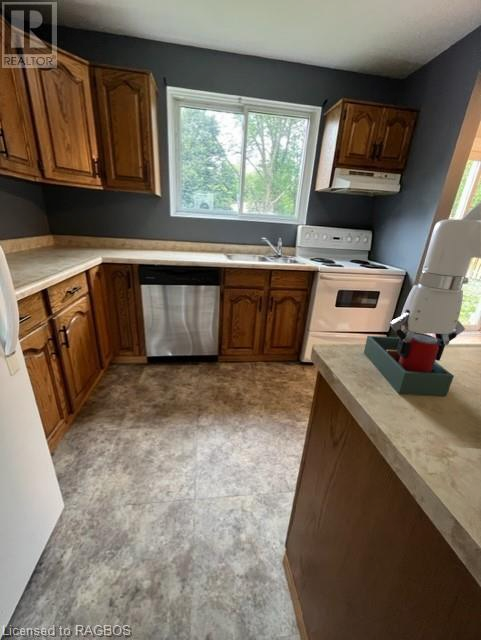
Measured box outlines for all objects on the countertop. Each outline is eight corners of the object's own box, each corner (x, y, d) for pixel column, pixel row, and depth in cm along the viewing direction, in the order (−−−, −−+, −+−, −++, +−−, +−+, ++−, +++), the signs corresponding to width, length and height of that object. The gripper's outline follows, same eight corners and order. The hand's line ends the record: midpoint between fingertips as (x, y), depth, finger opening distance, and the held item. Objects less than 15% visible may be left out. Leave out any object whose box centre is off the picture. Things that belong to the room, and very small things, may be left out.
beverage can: (432, 387, 64) (448, 341, 60) (413, 392, 62) (427, 345, 57) (407, 373, 70) (419, 330, 66) (388, 377, 67) (399, 333, 63)
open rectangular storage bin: (399, 354, 80) (404, 336, 78) (446, 397, 61) (454, 373, 59) (363, 352, 80) (367, 334, 78) (398, 394, 61) (405, 370, 59)
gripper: (468, 280, 61) (444, 351, 67) (390, 276, 61) (373, 347, 67) (497, 288, 54) (467, 367, 60) (408, 283, 54) (387, 362, 60)
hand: (417, 356), depth 63 cm, fingers closed on beverage can, 6 cm apart
